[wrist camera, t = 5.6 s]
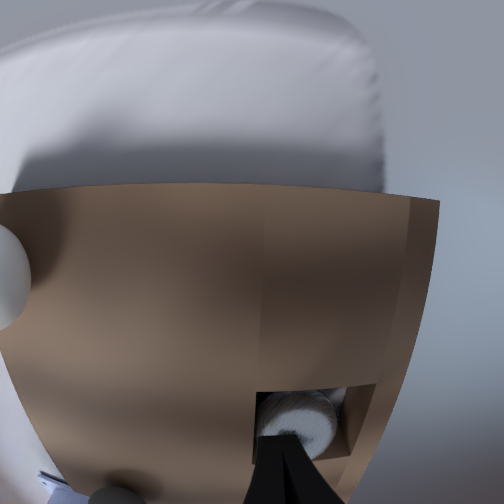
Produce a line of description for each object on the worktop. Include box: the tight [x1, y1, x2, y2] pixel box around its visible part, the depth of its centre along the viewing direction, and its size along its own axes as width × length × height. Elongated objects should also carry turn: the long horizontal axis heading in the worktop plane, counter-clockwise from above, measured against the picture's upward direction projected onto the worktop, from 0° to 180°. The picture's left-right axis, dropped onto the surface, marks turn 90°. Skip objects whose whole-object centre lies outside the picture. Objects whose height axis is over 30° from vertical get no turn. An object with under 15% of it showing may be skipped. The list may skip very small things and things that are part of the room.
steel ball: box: [254, 390, 337, 460], centre depth 11 cm, size 4×4×4 cm
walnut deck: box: [0, 183, 440, 504], centre depth 11 cm, size 18×17×2 cm
